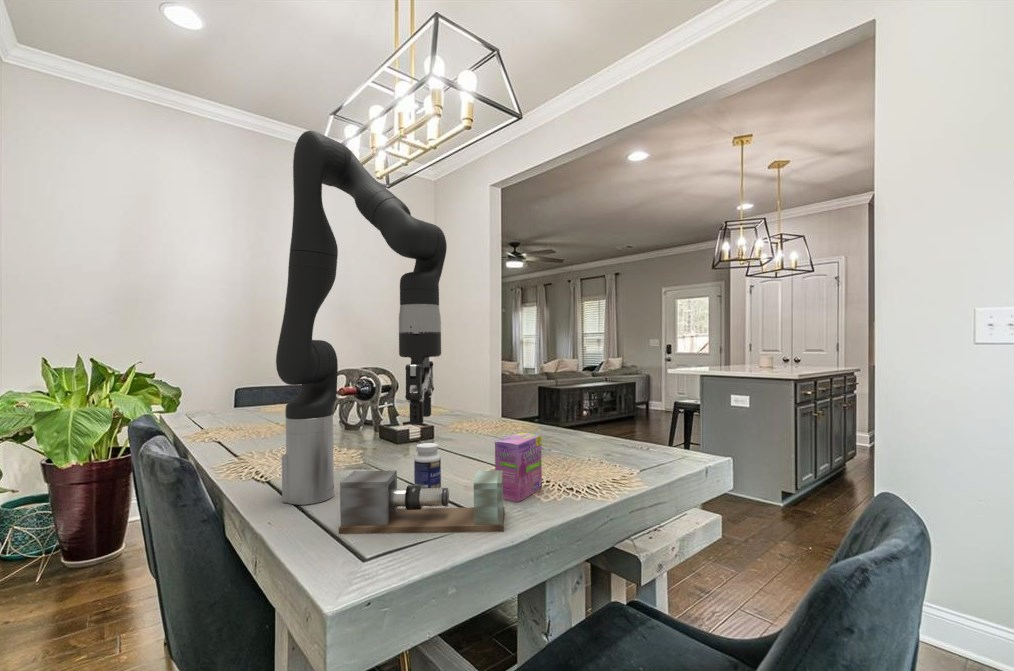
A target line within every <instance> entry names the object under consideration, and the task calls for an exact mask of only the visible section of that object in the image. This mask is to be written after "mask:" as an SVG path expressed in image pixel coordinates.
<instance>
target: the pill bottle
mask: <svg viewBox="0 0 1014 671" xmlns="http://www.w3.org/2000/svg"><path fill="white" fill-rule="evenodd" d="M438 451H439V444H438V443H434V442H426V443H425V442H424V443H419V444H417V445H416V452H417V454H416V455H415V456H414V463H413V464H414V474H413V475H414V476H413V477H414V479H413V480H414V481H413V483H414V484H413V485H422V486H423V488H442V474H441V469H442V468H441V464H442V463H441V455H440V454H439V453H438Z"/></svg>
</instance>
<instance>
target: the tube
mask: <svg viewBox="0 0 1014 671" xmlns="http://www.w3.org/2000/svg"><path fill="white" fill-rule="evenodd" d="M388 496H389V507H397V508H399V507H400V508H401V507H404V508H406V510H421V509H422V508H423V507H449V504H450V503H449V501H450V489H449V487H441V488H423V486H422V485H414V484H411V485H410V484H407V486H406V488H397V489H388Z"/></svg>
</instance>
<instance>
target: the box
mask: <svg viewBox="0 0 1014 671" xmlns="http://www.w3.org/2000/svg"><path fill="white" fill-rule="evenodd" d="M494 461H495V462H494V470H503V501H507V502H512V503H520V502H521V501H523V500H525V499H526V498H528V497H529V496H531V495H533V494H535V493H536V492H539V490H541V489H543V480H542V479H543V478H542V477H543V476H542V473H543V472H542V471H543V470H542V469H543V468H542V466H543V465H542V434H537V433H536V434H535V433H528V432H518V433H515V434H513V435H509V436H508V437H505V438H502V439H499V440H496V441H494Z"/></svg>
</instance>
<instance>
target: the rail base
mask: <svg viewBox="0 0 1014 671" xmlns="http://www.w3.org/2000/svg"><path fill="white" fill-rule="evenodd" d="M388 489H398V471H397V470H393V469H392V470H354V471H352V472H351V473H350V474H349V475H348V476H346V477H344V479H343V480H341V481H340V482H339V491H340V492H339V497H340V498H339V502H340V504H339V507H340V526H339V527H338V535H348V534H350V535H353V534H357V535H358V534H417V533H418V534H421V533H430V534H431V533H432V534H433V533H481V532H482V533H483V532H485V533H486V532H487V533H489V532H491V533H493V532H496V533H497V532H498V533H499V532H504V531H505V513H506V511H505V508H506V507H505V506H504V500H503V470H495V469H494V470H476V474H475V477H474V481H473V507H472V506H471V507H470V506H469V507H422V509H421V510H406V507H404V508H398V507H389V496H388Z"/></svg>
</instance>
